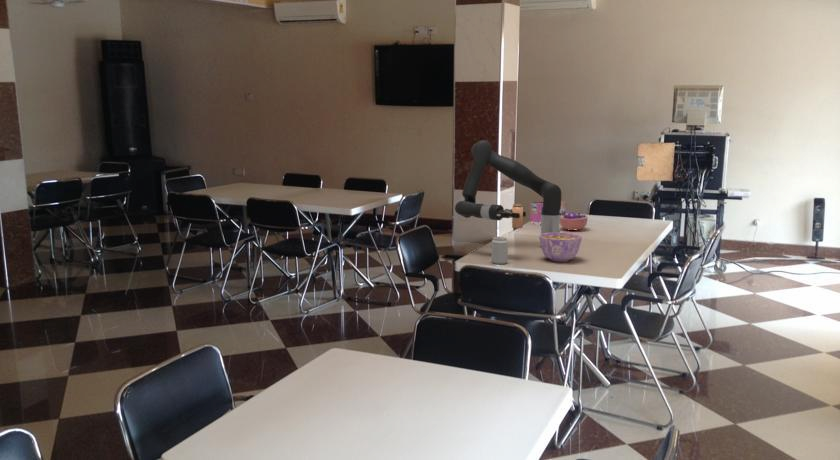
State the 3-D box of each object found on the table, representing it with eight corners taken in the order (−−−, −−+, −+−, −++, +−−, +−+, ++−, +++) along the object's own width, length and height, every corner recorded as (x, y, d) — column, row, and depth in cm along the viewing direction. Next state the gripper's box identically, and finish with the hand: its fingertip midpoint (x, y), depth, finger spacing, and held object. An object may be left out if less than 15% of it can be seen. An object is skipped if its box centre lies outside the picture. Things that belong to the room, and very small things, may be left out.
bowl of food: (554, 265, 320) (554, 241, 318) (530, 257, 338) (530, 234, 336) (589, 262, 328) (590, 237, 326) (564, 254, 346) (565, 231, 344)
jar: (521, 226, 335) (521, 203, 333) (523, 228, 330) (524, 205, 328) (511, 226, 334) (511, 203, 332) (513, 228, 329) (513, 205, 328)
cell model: (592, 229, 420) (592, 210, 418) (580, 234, 404) (581, 214, 402) (565, 226, 429) (565, 208, 427) (553, 231, 413) (553, 212, 411)
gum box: (560, 221, 452) (561, 200, 450) (568, 222, 445) (568, 201, 443) (529, 223, 441) (530, 202, 439) (537, 225, 434) (537, 203, 432)
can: (490, 261, 330) (490, 236, 328) (505, 261, 330) (506, 236, 328) (493, 264, 322) (493, 239, 321) (509, 264, 323) (509, 238, 321)
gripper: (483, 206, 334) (514, 208, 323) (500, 202, 345) (530, 205, 334) (483, 221, 335) (514, 224, 325) (500, 217, 346) (530, 220, 336)
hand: (522, 215), depth 329 cm, fingers closed on jar, 5 cm apart
